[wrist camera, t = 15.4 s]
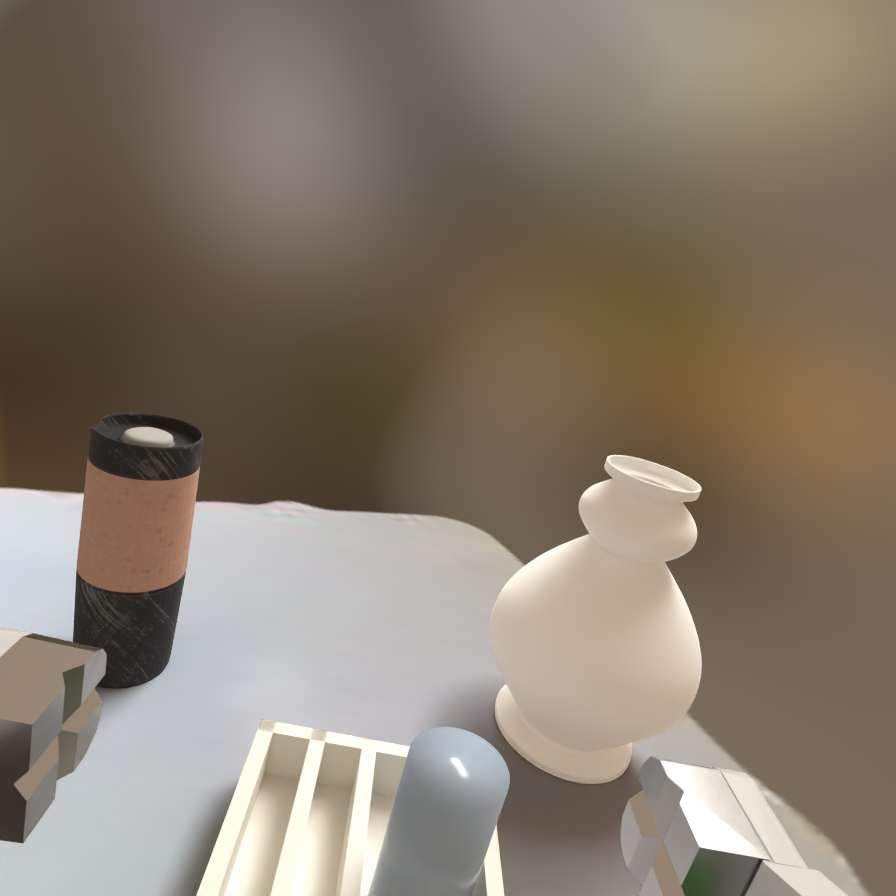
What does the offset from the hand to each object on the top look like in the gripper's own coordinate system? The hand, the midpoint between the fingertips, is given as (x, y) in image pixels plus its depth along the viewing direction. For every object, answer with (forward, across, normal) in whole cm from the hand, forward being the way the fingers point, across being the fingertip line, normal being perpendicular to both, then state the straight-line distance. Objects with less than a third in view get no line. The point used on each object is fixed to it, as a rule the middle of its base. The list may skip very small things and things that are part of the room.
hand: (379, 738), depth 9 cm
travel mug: (+37, +18, +30) cm, 51 cm away
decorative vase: (+39, -20, +30) cm, 53 cm away
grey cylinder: (+19, -7, +28) cm, 35 cm away
